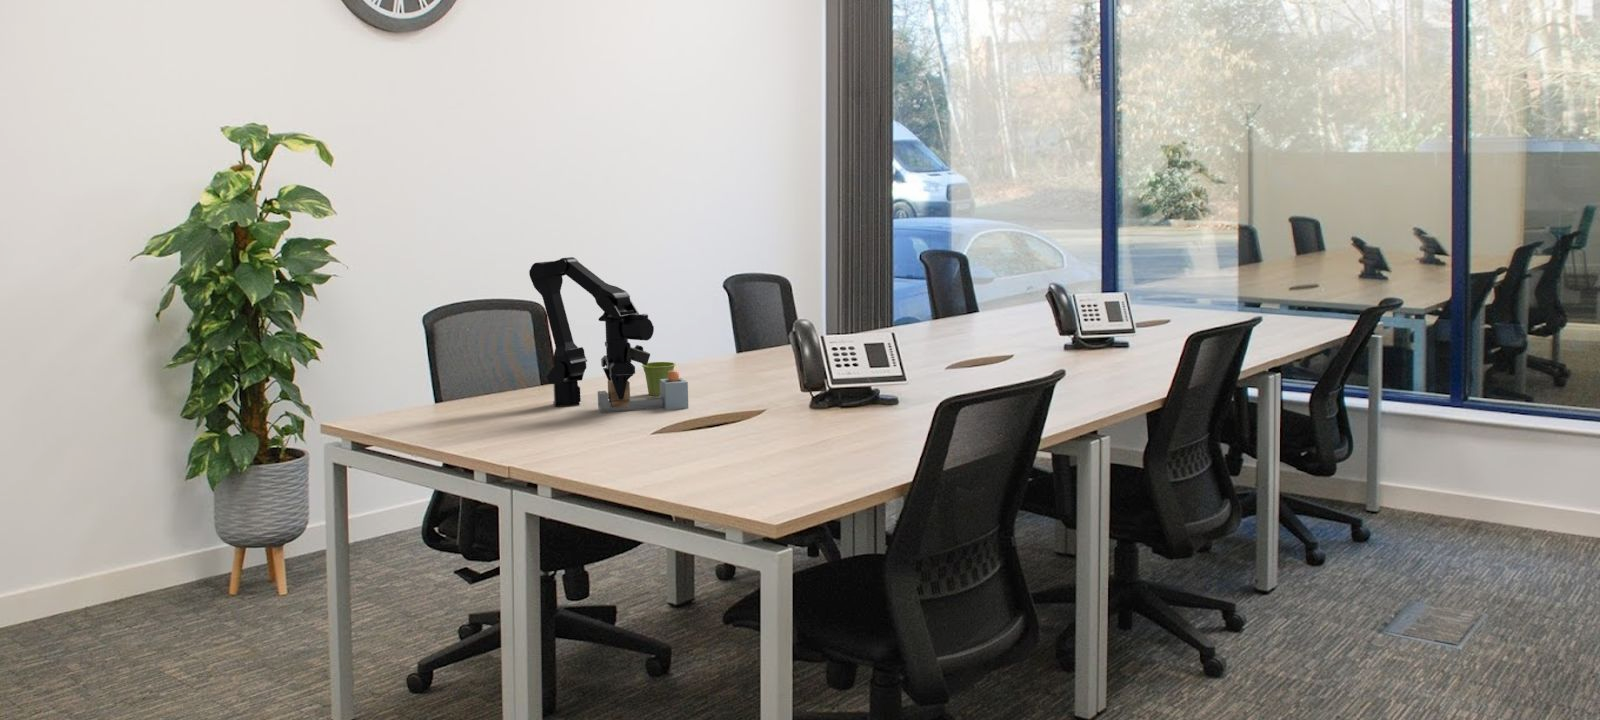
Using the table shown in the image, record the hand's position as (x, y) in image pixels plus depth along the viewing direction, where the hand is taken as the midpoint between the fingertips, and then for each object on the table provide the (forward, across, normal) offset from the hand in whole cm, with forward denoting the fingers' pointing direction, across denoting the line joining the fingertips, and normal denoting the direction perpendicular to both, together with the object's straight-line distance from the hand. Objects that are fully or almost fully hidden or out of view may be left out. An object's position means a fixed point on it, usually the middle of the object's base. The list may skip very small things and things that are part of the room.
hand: (618, 397), depth 363 cm
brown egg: (-2, 0, -15) cm, 15 cm away
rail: (+4, 0, -5) cm, 6 cm away
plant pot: (+4, +21, -15) cm, 26 cm away
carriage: (+2, 0, 0) cm, 2 cm away
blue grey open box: (+4, 0, -15) cm, 15 cm away
